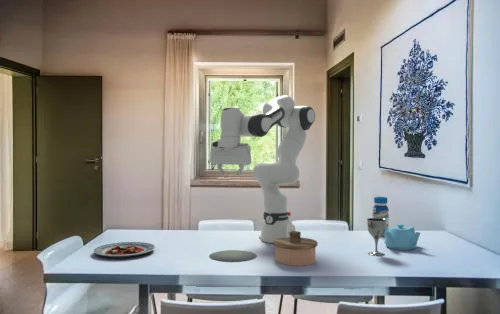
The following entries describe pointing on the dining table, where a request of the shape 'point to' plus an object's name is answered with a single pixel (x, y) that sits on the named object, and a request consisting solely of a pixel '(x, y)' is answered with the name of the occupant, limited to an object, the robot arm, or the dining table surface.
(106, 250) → the ceramic plate
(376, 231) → the wine glass
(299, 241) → the lid
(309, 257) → the bowl
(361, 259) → the dining table surface
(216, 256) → the tray
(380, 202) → the beverage bottle
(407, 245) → the teapot
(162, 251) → the dining table surface
